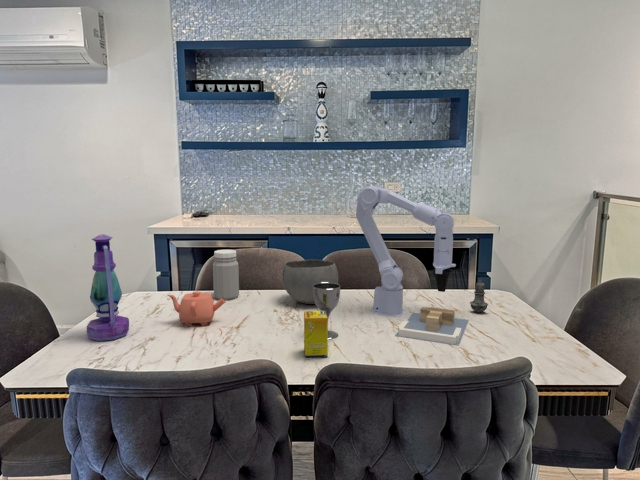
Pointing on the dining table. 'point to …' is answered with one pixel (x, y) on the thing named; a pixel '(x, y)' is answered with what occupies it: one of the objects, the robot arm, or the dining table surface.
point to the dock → (428, 334)
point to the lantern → (105, 295)
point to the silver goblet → (327, 299)
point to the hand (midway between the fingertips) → (441, 291)
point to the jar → (225, 275)
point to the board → (444, 329)
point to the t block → (436, 317)
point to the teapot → (196, 308)
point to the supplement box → (315, 334)
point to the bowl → (307, 277)
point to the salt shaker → (479, 298)
